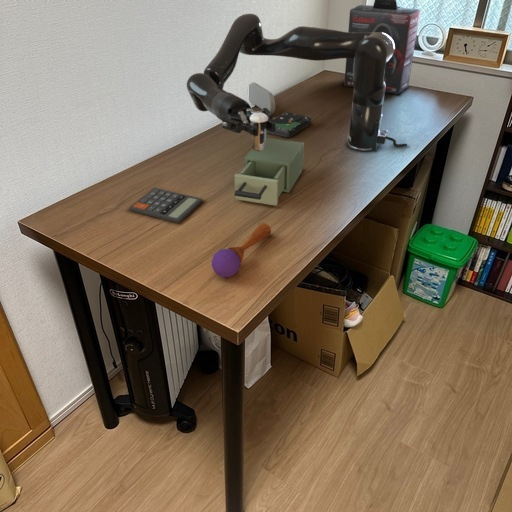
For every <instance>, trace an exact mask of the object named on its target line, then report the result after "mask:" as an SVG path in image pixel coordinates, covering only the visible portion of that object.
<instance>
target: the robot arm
mask: <svg viewBox="0 0 512 512" xmlns="http://www.w3.org/2000/svg"><path fill="white" fill-rule="evenodd" d="M393 53H394V43H393V40H392V39H391V38H390V37H389V36H388V35H386V34H385V33H381V32H369V33H350V32H348V31H342V30H336V29H329V28H322V27H316V26H315V27H314V26H305V25H304V26H297V27H294V28H293V29H291V30H289V31H288V32H286V33H285V34H283V35H282V36H280V37H278V38H272V39H271V38H265V37H264V33H263V26H262V22H261V19H260V18H259V16H258V15H257V14H255V13H244V14H242V15H239V16H238V17H237V18H235V20H234V21H233V22H232V24H231V26H230V29H229V30H228V32H227V34H226V36H225V37H224V40H223V42H222V44H221V46H220V48H219V50H218V51H217V53H216V54H215V55H214V57H212V59H211V61H210V62H209V63H208V64H207V65H206V67H205V68H204V70H203V72H196V73H193V74H192V75H190V76H189V77H188V79H187V81H186V90H187V92H188V94H189V96H190V98H191V100H192V102H193V104H194V106H195V108H196V109H197V110H198V111H200V112H209V113H211V114H213V115H214V116H215V117H216V118H217V119H219V120H220V121H221V127H222V129H224V130H228V131H231V132H233V133H237V134H241V133H242V132H243V133H248V134H249V135H250V136H251V135H254V136H258V127H256V126H255V125H253V124H251V123H250V116H251V115H252V114H253V113H260V112H261V113H264V114H266V115H267V116H268V117H269V118H268V124H267V130H269V131H271V132H274V131H275V123H274V122H272V120H273V118H274V116H273V114H271V112H270V111H269V110H268V109H267V108H263V110H262V109H261V110H259V111H258V110H257V109H254V108H252V107H251V105H250V104H249V102H248V101H246V100H245V99H243V98H241V97H239V96H238V95H236V94H234V93H231V92H230V91H229V92H228V91H226V90H224V87H225V83H226V82H227V80H228V79H229V78H230V77H231V76H232V74H233V73H234V71H235V68H236V66H237V62H238V58H239V55H240V54H243V55H246V56H268V57H269V56H271V57H272V56H273V57H286V58H292V59H298V60H299V59H300V60H308V61H316V62H317V61H329V60H330V61H332V60H340V59H346V58H348V59H354V67H353V84H354V87H353V93H352V102H351V112H350V122H349V132H348V133H347V138H348V141H347V147H348V148H350V149H352V150H354V151H358V152H370V151H371V152H372V151H373V152H376V151H377V148H378V147H379V145H380V144H381V145H385V143H386V141H387V140H389V141H391V142H392V145H393V146H394V147H396V148H401V147H407V146H408V143H397V140H396V139H395V138H393V137H391V136H388V130H383V129H381V128H382V119H383V108H384V101H385V93H386V92H385V88H386V84H385V82H384V73H385V65H386V63H387V62H388V61H389V60H390V58H391V57H392V55H393Z"/></svg>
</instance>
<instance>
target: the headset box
mask: <svg viewBox="0 0 512 512" xmlns="http://www.w3.org/2000/svg"><path fill="white" fill-rule="evenodd" d="M420 15H421V9H420V8H407V7H406V8H405V7H398V3H397V0H374V2H373V5H369V4H359V5H357V6H355V7H354V8H353V7H352V8H351V9H350V10H349V16H348V17H349V18H348V31H347V32H350V33H369V32H381V33H385V34H386V35H388V36H389V37H390V38H391V39H392V40H393V43H394V53H393V55H392V57H391V58H390V60H389V61H388V62H387V63H386V65H385V73H384V82H385V84H386V88H385V93H388V94H395V95H399V94H401V93H402V92H403V91H405V90H406V89H407V88H409V85H410V80H411V73H412V65H413V61H414V60H413V58H414V53H415V47H416V40H417V35H418V27H419V20H420ZM353 67H354V59H348V58H345V69H344V80H343V81H344V82H343V86H344V87H349V88H350V87H351V88H354V84H353Z"/></svg>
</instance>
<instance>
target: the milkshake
mask: <svg viewBox="0 0 512 512" xmlns="http://www.w3.org/2000/svg"><path fill="white" fill-rule="evenodd" d="M268 118H269V117H268V116H267V115H266V114H264V113H261V112H260V113H253V114H252V115H251V116H250V123H251V124H253V125H255V126H256V127H258V136H254V135H251V134H250V136H251V148H253V150H255V151H263V150H264V149H265V145H266V138H267V133H268V132H267V124H268Z"/></svg>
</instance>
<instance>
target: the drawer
mask: <svg viewBox="0 0 512 512" xmlns="http://www.w3.org/2000/svg"><path fill="white" fill-rule="evenodd" d="M233 179H234V198H235V200H240V201H245V202H252V203H258V204H265V205H268V206H269V205H270V206H276V207H277V206H278V204H279V197H280V196H281V195H282V193H283V192H282V191H283V189H284V188H285V186H286V182H287V166H284V165H277V164H270V163H263V162H256V161H250V162H249V163H248V164H247V165H246V167H245V166H244V167H243V169H242V170H241V171H240V173H235V174H234V178H233Z"/></svg>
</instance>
